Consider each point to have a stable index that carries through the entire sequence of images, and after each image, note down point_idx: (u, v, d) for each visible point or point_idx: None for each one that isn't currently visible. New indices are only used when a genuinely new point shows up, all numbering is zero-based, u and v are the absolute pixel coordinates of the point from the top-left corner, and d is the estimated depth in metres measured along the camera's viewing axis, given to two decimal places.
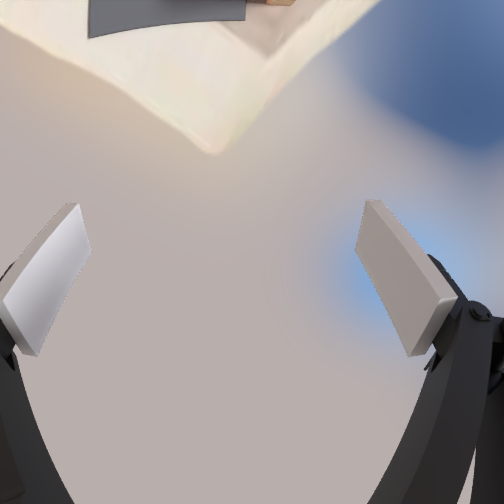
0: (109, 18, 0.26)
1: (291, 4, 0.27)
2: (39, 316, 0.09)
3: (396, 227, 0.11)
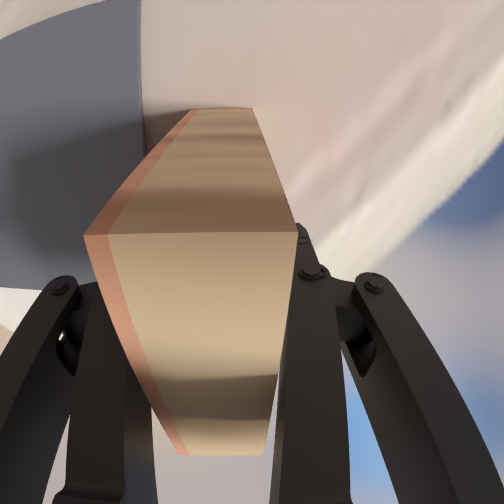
0: None
1: None
2: None
3: None
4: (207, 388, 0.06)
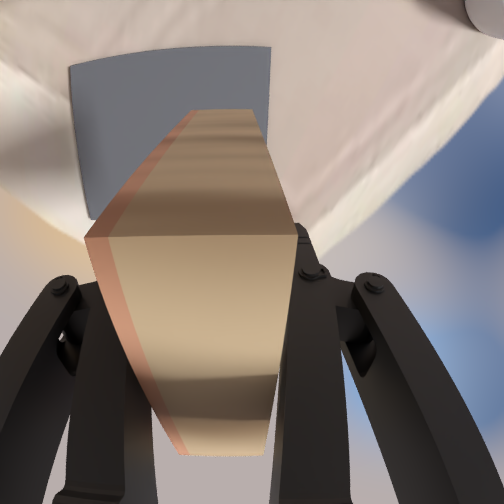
0: (108, 201, 0.31)
1: None
2: None
3: None
4: (207, 389, 0.06)
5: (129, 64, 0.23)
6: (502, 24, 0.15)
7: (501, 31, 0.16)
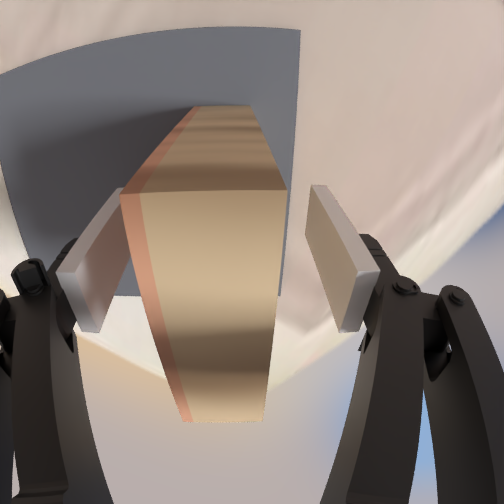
0: None
1: None
2: (102, 292, 0.10)
3: (333, 208, 0.12)
4: (213, 339, 0.07)
5: (64, 68, 0.13)
6: None
7: None
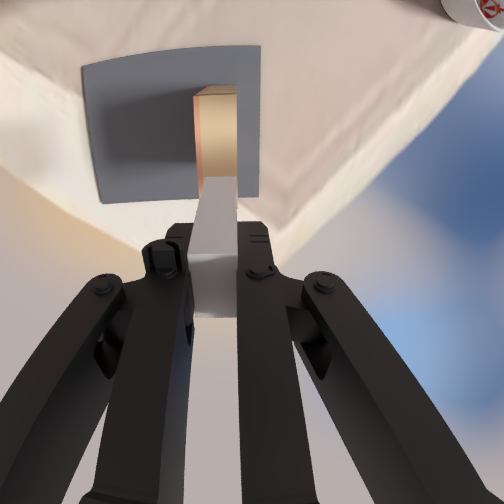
0: (118, 186, 0.35)
1: None
2: None
3: (226, 197, 0.12)
4: (216, 146, 0.21)
5: (136, 64, 0.27)
6: (472, 13, 0.18)
7: (473, 20, 0.19)
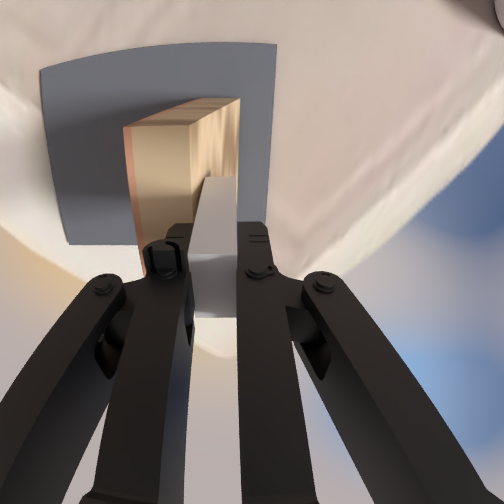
0: (87, 225, 0.27)
1: None
2: None
3: (226, 197, 0.12)
4: (161, 210, 0.13)
5: (106, 65, 0.19)
6: None
7: None
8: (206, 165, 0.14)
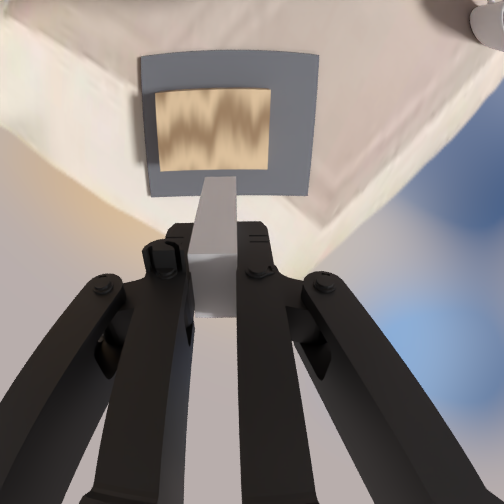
0: (171, 180, 0.37)
1: None
2: None
3: (226, 197, 0.12)
4: None
5: (199, 60, 0.28)
6: (500, 39, 0.20)
7: (499, 45, 0.21)
8: (179, 113, 0.29)
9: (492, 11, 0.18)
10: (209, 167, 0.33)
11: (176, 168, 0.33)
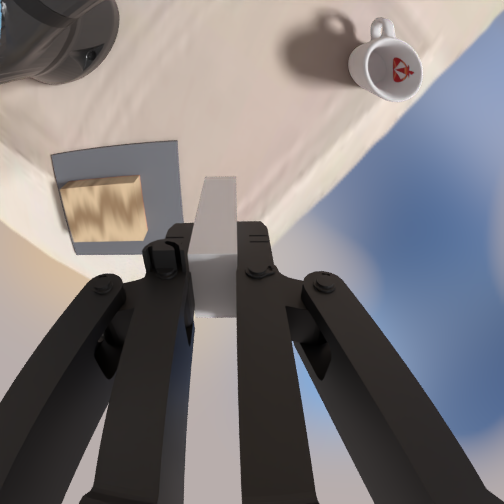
0: (86, 243, 0.46)
1: (137, 240, 0.43)
2: None
3: (226, 197, 0.12)
4: None
5: (88, 157, 0.38)
6: (367, 87, 0.29)
7: (371, 92, 0.30)
8: (77, 203, 0.38)
9: (360, 55, 0.27)
10: (103, 240, 0.42)
11: (83, 240, 0.42)
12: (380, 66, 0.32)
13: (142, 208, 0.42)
